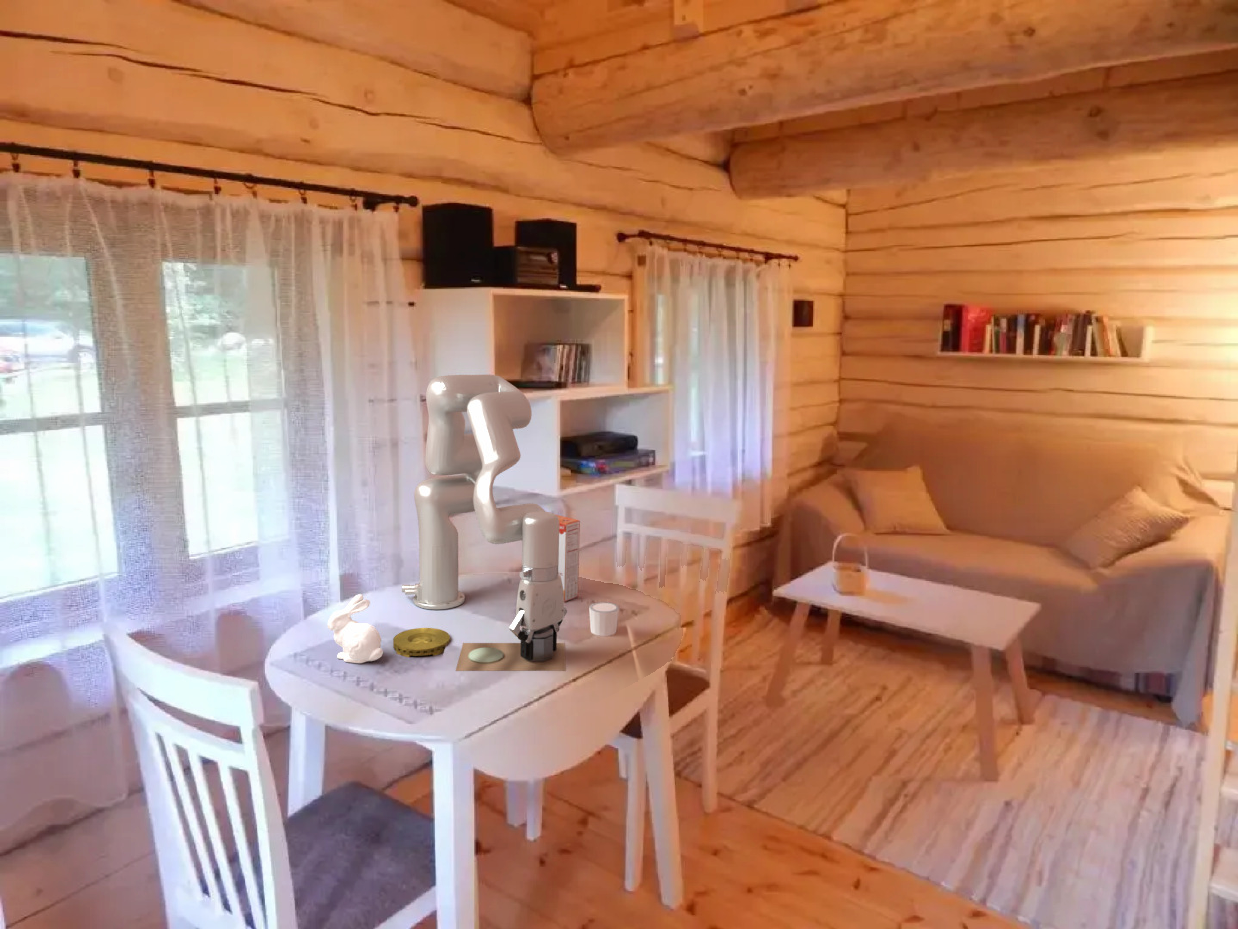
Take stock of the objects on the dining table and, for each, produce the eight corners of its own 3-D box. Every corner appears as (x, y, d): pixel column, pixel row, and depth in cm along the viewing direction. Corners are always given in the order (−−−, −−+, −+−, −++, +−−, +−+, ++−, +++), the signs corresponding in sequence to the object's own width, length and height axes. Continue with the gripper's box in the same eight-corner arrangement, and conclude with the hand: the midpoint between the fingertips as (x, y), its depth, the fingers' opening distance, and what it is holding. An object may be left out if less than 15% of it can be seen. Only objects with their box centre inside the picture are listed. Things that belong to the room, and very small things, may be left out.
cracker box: (523, 590, 217) (524, 513, 213) (539, 585, 221) (540, 509, 218) (563, 603, 208) (565, 523, 205) (579, 597, 213) (581, 519, 209)
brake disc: (392, 660, 172) (392, 651, 172) (394, 638, 184) (394, 629, 183) (450, 657, 175) (450, 647, 175) (449, 635, 187) (449, 626, 186)
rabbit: (323, 658, 172) (321, 603, 170) (355, 642, 180) (353, 590, 178) (369, 670, 167) (368, 614, 165) (399, 653, 175) (398, 599, 173)
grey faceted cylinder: (537, 664, 169) (537, 636, 168) (518, 655, 173) (518, 628, 172) (558, 656, 174) (559, 628, 172) (539, 647, 178) (540, 620, 176)
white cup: (601, 628, 193) (602, 599, 192) (624, 635, 189) (625, 606, 188) (582, 636, 188) (582, 607, 187) (605, 644, 184) (606, 614, 182)
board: (455, 676, 165) (455, 649, 164) (463, 648, 179) (463, 623, 178) (565, 676, 167) (565, 649, 166) (564, 648, 181) (564, 623, 180)
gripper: (521, 585, 161) (520, 671, 165) (582, 567, 174) (579, 647, 177) (496, 576, 166) (495, 660, 169) (556, 559, 179) (555, 637, 182)
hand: (538, 653), depth 173 cm, fingers closed on grey faceted cylinder, 6 cm apart
